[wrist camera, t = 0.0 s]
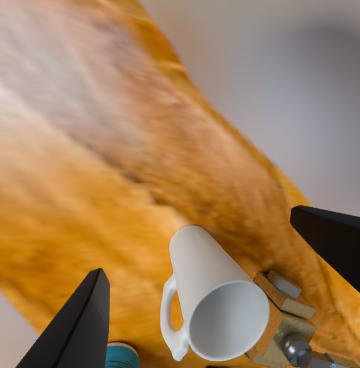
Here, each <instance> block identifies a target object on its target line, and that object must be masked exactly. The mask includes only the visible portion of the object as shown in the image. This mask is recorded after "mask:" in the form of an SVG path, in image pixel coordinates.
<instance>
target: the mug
mask: <svg viewBox="0 0 360 368" xmlns="http://www.w3.org/2000/svg"><path fill="white" fill-rule="evenodd" d="M169 251H170V257H171V262H172V267H173V272H174V273H173V275H172V276H171V277H170V279H169V280H168V281H167V282H166V283H165V284H164V290H163V297H162V303H161V312H160V324H161V331H162V335H163V337H164V340H165V342H166V343H167V345H168V346H169V348H170V350H171V351H172V355H173V358H174V359H175V360H177V361H181V360H182V358H183V357H184V356H185V354H186V353H187V352H188V350H189V345H190V346H191V348H192V349H193V351H194V352H195V353H196V354H197V355H199V356H200V357H202V358H204V359H207V360H211V361H226V360H230V359H233V358H236V357H238V356H240V355H242V354H243V353H245V352H247V351H248V350H249V349H250V348H252V347H253V346H254V345H255V344H256V343H257V341H258V340H259V339H260V338H261V336H262V334H263V333H264V331H265V329H266V326H267V324H268V320H269V313H270V308H269V302H268V299H267V296H266V294H265V293H264V291H263V290H262V289H261V288H260V287H259V286H258V285H256V284H255V282H254V281H253V280H252V279H251V278H250V277H249V276H248V275H247V274H246V272H245V271H244V270H243V269H242V268H241V267H240V266H239V265H238V264H237V263H236V262H235V261H234V260H233V259H232V258H231V257H230V256H229V254H228V253H227V252H226V251H225V250H224V249H223V248H222V247H221V246H220V245H219V244H218V243H217V242H216V241H215V239H214V238H213V237H212V236H211V235H210V234H209V233H208V232H207V231H206V230H205V229H203V228H202V227H199V226H196V225H189V226H185V227H183V228H181V229H179V230H178V231H177V232H176V233H175V234H174V235H173V237H172V239H171V241H170V245H169ZM176 291H178V295H179V300H180V305H181V310H182V315H183V319H184V324H183V326H182V327H181V328H180V329H179V330H178V331H175V330H174V329H173V327H172V325H171V321H170V308H171V303H172V299H173V297H174V294H175V292H176Z"/></svg>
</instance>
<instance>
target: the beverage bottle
mask: <svg viewBox="0 0 360 368" xmlns="http://www.w3.org/2000/svg"><path fill="white" fill-rule="evenodd" d="M105 368H140V359H139V356H138V354H137V352H136V351H135V349H134V348H132V347H131V346H129V345H127V344H124V343H118V342H114V343H108V345H107V354H106V363H105Z"/></svg>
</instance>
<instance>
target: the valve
mask: <svg viewBox="0 0 360 368" xmlns="http://www.w3.org/2000/svg"><path fill="white" fill-rule="evenodd" d="M254 282H255V284H256V285H258V286H259V287H260V288H261V289H262V290H263V291H264V293H265V294H266V296H267V299H268V302H269V308H270V313H269V320H268V324H267V326H266V329H265V331H264V333H263V334H262V336H261V338H260V339H259V340H258V341H257V343H256V344H255V345H254V346H253V347H252V348H250V349H249V350H248V351H247V352H245V353H244V354H245V355H246V356H247V357H248V358H249V359H251V361H252V363H256V364H260V365H264V366H269V367H273V368H285V366H286V365H291V364H290V363H289V361H288V360H287V358H286V357H285V356H284V354H283V353H282V350H281V348H282V344H283V342H284V340H285V339H286V338H287V337H288V336H290V335H292V334H299V335H301V336H302V337H303V338H304V340H305V341H306V342H307V343H308V344H309V342H310V340H311V339H312V337H313V335H314V333H315V331H316V329H317V327H316V326H315V325H314V324H313V323H312V322H311V321H310V320H311V318H312V316H313V314H314V313H315V311H316V309H315V308H314V307H312V306H311V305H310V304H309V303H308V302H307V301H306V300H304V299H303V298H302V297H301V296H300V295H299V294H300V292H301V291H302V289H301V288H300V287H299V286H298V285H297V284H296V283H295V282H293V281H292V280H291V279H289V278H288V277H286V276H285V275H283V274H281V273H280V272H278V271H276V270H273V269H270V271H269V273H268V275H267V274H264V273H262V272H259V271H258V273H257V275H256V277H255V279H254ZM309 319H310V320H309ZM291 366H292V365H291Z"/></svg>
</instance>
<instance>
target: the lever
mask: <svg viewBox="0 0 360 368" xmlns="http://www.w3.org/2000/svg"><path fill="white" fill-rule="evenodd" d="M281 350H282V353H283V354H284V356H285V357H286V358H287V360H288V361H289V363H290V364H291V365H292V366H293V367H300V368H360V366H359V365H358V364H357V363H356V362H355V361H353V360H350V359H347V358H343V357H340V356H337V355H333V354H330V353H327V352H326V353H325V354H322V353H319V352H316V351H312V348H311V346H310V345H309V344H308V343H307V342H306V341H305V340H304V338H303V337H302V336H301V335H299V334H292V335H290V336H288V337H287V338H286V339H285V340H284V342H283V344H282V348H281Z"/></svg>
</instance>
